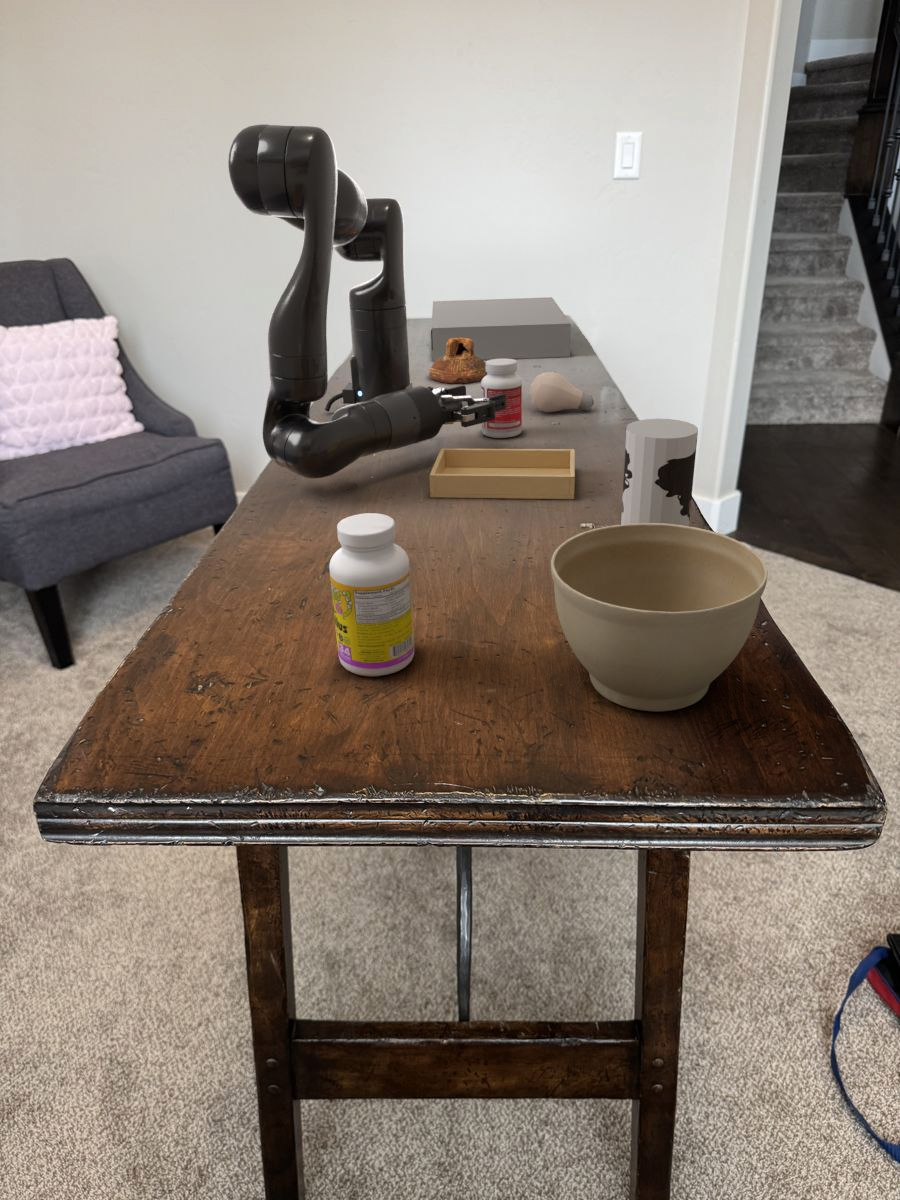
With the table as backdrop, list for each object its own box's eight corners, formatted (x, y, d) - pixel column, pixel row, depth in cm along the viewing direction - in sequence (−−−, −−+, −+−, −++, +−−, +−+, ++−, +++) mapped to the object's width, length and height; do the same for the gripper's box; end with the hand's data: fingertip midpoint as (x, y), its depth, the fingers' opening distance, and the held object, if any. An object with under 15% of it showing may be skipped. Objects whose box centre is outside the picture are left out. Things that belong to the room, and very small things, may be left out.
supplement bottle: (340, 643, 80) (326, 510, 75) (413, 638, 81) (405, 505, 75) (337, 682, 74) (323, 541, 69) (416, 677, 75) (408, 536, 69)
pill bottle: (529, 434, 137) (530, 361, 132) (497, 441, 134) (497, 367, 129) (505, 425, 142) (505, 355, 137) (474, 432, 139) (472, 360, 134)
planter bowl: (542, 635, 81) (544, 523, 76) (722, 633, 80) (736, 520, 75) (555, 740, 66) (559, 611, 61) (775, 739, 65) (797, 608, 61)
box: (569, 356, 186) (570, 322, 183) (432, 361, 186) (430, 326, 183) (551, 327, 217) (551, 297, 214) (433, 331, 217) (432, 301, 214)
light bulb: (587, 430, 147) (524, 413, 146) (586, 412, 152) (524, 396, 151) (601, 394, 143) (535, 377, 142) (599, 377, 148) (535, 360, 147)
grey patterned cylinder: (698, 572, 91) (713, 429, 84) (649, 589, 88) (661, 442, 81) (652, 551, 96) (662, 414, 90) (604, 566, 93) (611, 426, 86)
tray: (430, 497, 113) (429, 475, 112) (441, 469, 123) (440, 448, 122) (574, 499, 111) (574, 476, 110) (574, 470, 121) (574, 449, 120)
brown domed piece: (493, 370, 177) (492, 332, 174) (484, 384, 166) (483, 345, 163) (435, 370, 179) (434, 332, 176) (423, 384, 168) (421, 345, 165)
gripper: (434, 400, 117) (518, 378, 126) (367, 383, 126) (450, 364, 136) (436, 455, 120) (518, 429, 130) (370, 435, 129) (452, 412, 139)
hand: (483, 396), depth 133 cm, fingers open, 8 cm apart
